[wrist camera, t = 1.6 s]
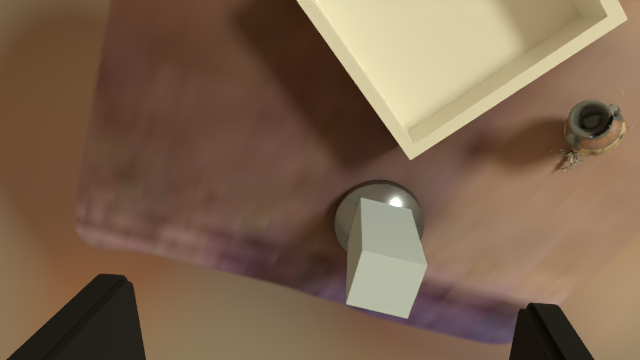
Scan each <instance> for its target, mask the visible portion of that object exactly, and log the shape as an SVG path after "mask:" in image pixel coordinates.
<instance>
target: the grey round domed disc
mask: <svg viewBox="0 0 640 360" xmlns="http://www.w3.org/2000/svg"><path fill="white" fill-rule="evenodd" d="M360 198H365V199H369V200H373V201H378V202H382V203H386V204H390V205H394V206H398V207H402V208H406V209H411V211H412V214H413V218H414V221H415V225H416V228H417V232H418V235H419V239H420V240H421V237H422V234H423V230H424V218H423V214H422V211H421V208H420V205H419V203H418V201H417V199H416V198H415V196H414V195H413V194H412V193H411V192H410V191H409V190H408V189H406V188H405V187H403V186H401V185H399V184H397V183H394V182H391V181H387V180H372V181H367V182H363V183H361V184H359V185H357V186H355V187H353V188H352V189H350V190H349V191H348V192H347V193H346V194H345V195H344V196H343V197H342V199H341V200H340V202H339V204H338V206H337V209H336V213H335V223H334V226H335V233H336V237H337V239H338V241H339V243H340V245H341V246H342V248H343V249H344V250H345V251H346V252H347V253H348V240H349V236H350V233H351V229H352V226H353V222H354V219H355V215H356V212H357V209H358V205H359V202H360Z"/></svg>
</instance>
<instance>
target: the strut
mask: <svg viewBox="0 0 640 360" xmlns="http://www.w3.org/2000/svg"><path fill="white" fill-rule="evenodd" d="M426 268H427V263H426V260H425V256H424V253H423V249H422V246H421V242H420V239H419V235H418V232H417V228H416V225H415V221H414V218H413V214H412V211H411V209H406V208H402V207H398V206H394V205H390V204H386V203H382V202H378V201H373V200H369V199H365V198H360V202H359V205H358V209H357V212H356V215H355V219H354V222H353V226H352V229H351V233H350V236H349V240H348V255H347V287H346V304H349V305H353V306H357V307H361V308H365V309H369V310H374V311H378V312H382V313H386V314H390V315H395V316H399V317H403V318H408V316H409V313H410V311H411V308H412V305H413V303H414V300H415V297H416V295H417V292H418V289H419V287H420V284H421V281H422V279H423V276H424V273H425V271H426Z"/></svg>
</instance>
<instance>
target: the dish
mask: <svg viewBox="0 0 640 360" xmlns="http://www.w3.org/2000/svg"><path fill="white" fill-rule="evenodd" d="M297 2H298V3H299V5H300V6H301V7H302V9H303V10H304V12H305V13H306V14H307V16H308V17H309V19H310V20H311V21H312V23H313V24H314V26H315V27H316V28H317V30H318V31H319V33H320V34H321V35H322V37H323V38H324V40H325V41H326V42H327V44H328V45H329V47H330V48H331V49H332V51H333V52H334V54H335V55H336V56H337V58H338V59H339V61H340V62H341V63H342V65H343V66H344V68H345V69H346V71H347V72H348V73H349V75H350V76H351V78H352V79H353V80H354V82H355V83H356V85H357V86H358V87H359V89H360V90H361V92H362V93H363V94H364V96H365V97H366V99H367V100H368V101H369V103H370V104H371V106H372V107H373V108H374V110H375V111H376V113H377V114H378V115H379V117H380V118H381V120H382V121H383V122H384V124H385V125H386V127H387V128H388V129H389V131H390V132H391V134H392V135H393V137H394V138H395V139H396V141H397V142H398V144H399V145H400V146H401V148H402V149H403V151H404V152H405V153H406V155H407V156H408V158H409V159H410V160H412V159H413V158H415V157H416V156H418V155H419V154H421V153H422V152H424V151H425V150H427V149H428V148H430V147H432V146H433V145H435V144H436V143H438V142H439V141H441V140H442V139H444V138H445V137H447V136H449V135H450V134H452V133H453V132H455V131H456V130H458V129H459V128H461V127H462V126H464V125H465V124H467V123H469V122H470V121H472V120H473V119H475V118H476V117H478V116H479V115H481V114H482V113H484V112H486V111H487V110H489V109H490V108H492V107H493V106H495V105H496V104H498V103H499V102H501V101H502V100H504V99H506V98H507V97H509V96H510V95H512V94H513V93H515V92H516V91H518V90H519V89H521V88H523V87H524V86H526V85H527V84H529V83H530V82H532V81H533V80H535V79H536V78H538V77H539V76H541V75H543V74H544V73H546V72H547V71H549V70H550V69H552V68H553V67H555V66H556V65H558V64H559V63H561V62H563V61H564V60H566V59H567V58H569V57H570V56H572V55H573V54H575V53H576V52H578V51H580V50H581V49H583V48H584V47H586V46H587V45H589V44H590V43H592V42H593V41H595V40H596V39H598V38H600V37H601V36H603V35H604V34H606V33H607V32H609V31H610V30H612V29H613V28H615V27H617V26H618V25H620V24H621V23H623V22H624V21H626V20H627V17H626V15H625V13H624V11H623V9H622V7H621V5H620V3H619V1H618V0H297Z"/></svg>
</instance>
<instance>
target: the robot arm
mask: <svg viewBox="0 0 640 360" xmlns="http://www.w3.org/2000/svg"><path fill="white" fill-rule="evenodd" d="M7 360H146V357H145V351H144V346H143V340H142V334H141V328H140V323H139V317H138V311H137V305H136V299H135V293H134V287H133V284H132V283H131V282H130V281H127V278H126V277H125V276H123V275H114V274H99V275H98V276H96V277H95V278H94V279H93V280H92V281H91V282H90V283H89V284H88V285H86V286H85V287H84V288H83V289H82V290H81V291H80V292H79V293H78V294H77V295H76V296H75V297H74V298H72V299H71V300H70V301H69V302H68V303H67V304H66V305H65V306H64V307H63V308H62V309H61V310H60V311H59V312H58V313H56V314H55V315H54V316H53V317H52V318H51V319H50V320H49V321H48V322H47V323H46V324H44V325H43V326H42V327H41V328H40V329H39V330H38V331H37V332H36V333H35V334H34V335H33V336H31V337H30V339H28V340H27V341H26V342H25V343H24V344H23V345H22V346H21V347H20V348H19V349H17V350H16V351H15V352H14V353H13V354H12V355H11V356H10V357H9V358H8V359H7ZM509 360H594V358H593V357H592V355H591V354H590V352H589V351H588V349H587V348H586V346H585V345H584V343H583V342H582V340H581V339H580V337H579V336H578V334H577V333H576V331H575V330H574V328H573V327H572V325H571V324H570V322H569V321H568V319H567V318H566V316H565V314H564V313H563V311H562V310H561V308H560V307H559V306H558V305H555V304H542V303H529V304H528V306H527V308H526V309H520V310H519V312H518V317H517V322H516V327H515V332H514V337H513V342H512V348H511V352H510V358H509Z"/></svg>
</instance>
